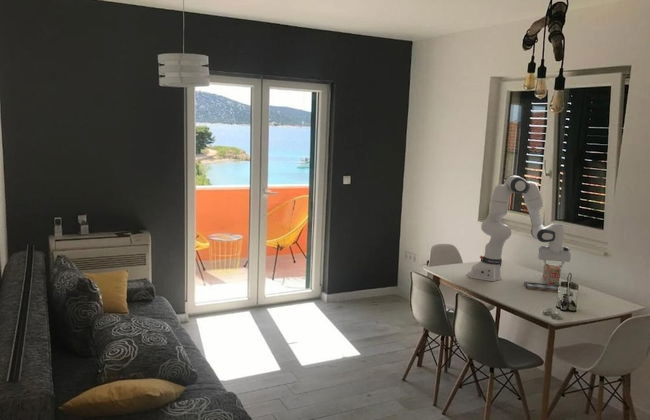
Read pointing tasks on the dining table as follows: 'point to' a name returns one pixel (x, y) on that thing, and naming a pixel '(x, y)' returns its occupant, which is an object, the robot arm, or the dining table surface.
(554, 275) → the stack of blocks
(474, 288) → the dining table surface
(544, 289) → the grey flat slab
